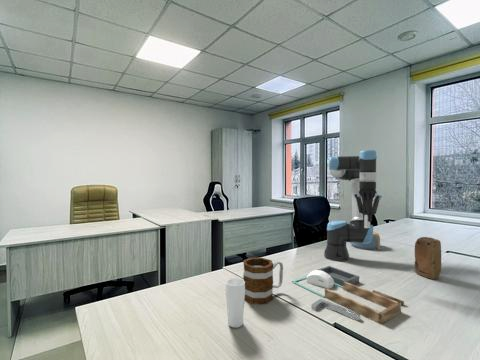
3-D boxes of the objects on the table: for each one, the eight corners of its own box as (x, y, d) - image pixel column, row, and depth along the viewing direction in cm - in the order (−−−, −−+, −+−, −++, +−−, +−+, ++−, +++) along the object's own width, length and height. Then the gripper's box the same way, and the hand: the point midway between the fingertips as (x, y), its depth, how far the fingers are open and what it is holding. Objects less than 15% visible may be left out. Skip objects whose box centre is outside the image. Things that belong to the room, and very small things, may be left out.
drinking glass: (225, 319, 92) (225, 278, 91) (244, 318, 92) (244, 277, 92) (226, 330, 85) (226, 286, 85) (246, 329, 85) (246, 285, 85)
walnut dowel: (371, 293, 111) (372, 289, 111) (373, 295, 112) (374, 290, 112) (401, 305, 101) (402, 300, 101) (403, 306, 102) (404, 301, 102)
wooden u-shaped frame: (324, 297, 108) (324, 289, 108) (344, 288, 116) (344, 281, 116) (381, 324, 88) (382, 314, 88) (401, 312, 96) (401, 303, 96)
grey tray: (315, 275, 132) (315, 270, 132) (329, 271, 138) (329, 265, 138) (345, 288, 117) (345, 281, 117) (359, 282, 124) (359, 276, 124)
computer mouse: (330, 289, 116) (330, 276, 116) (304, 282, 124) (304, 269, 124) (335, 285, 121) (335, 272, 121) (310, 278, 129) (310, 266, 129)
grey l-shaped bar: (311, 308, 99) (311, 304, 99) (320, 303, 104) (320, 298, 104) (352, 326, 87) (352, 321, 87) (360, 319, 92) (360, 314, 92)
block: (442, 279, 128) (443, 240, 128) (432, 281, 125) (433, 241, 125) (421, 271, 138) (421, 235, 138) (411, 273, 136) (412, 236, 135)
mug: (251, 307, 100) (251, 270, 99) (237, 293, 112) (237, 259, 112) (291, 297, 108) (291, 263, 108) (274, 285, 120) (274, 254, 120)
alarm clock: (385, 250, 178) (385, 233, 178) (356, 250, 178) (357, 233, 178) (371, 243, 197) (371, 227, 197) (345, 243, 197) (345, 227, 197)
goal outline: (291, 282, 124) (291, 281, 124) (313, 275, 133) (313, 274, 133) (323, 297, 108) (323, 296, 108) (345, 288, 117) (345, 287, 117)
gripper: (351, 180, 129) (350, 226, 130) (376, 181, 119) (376, 230, 119) (359, 180, 134) (359, 224, 134) (384, 181, 123) (384, 229, 123)
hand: (367, 227), depth 126 cm, fingers closed
